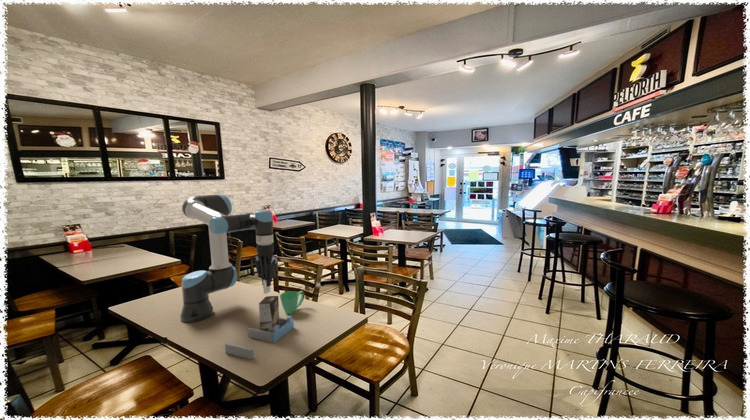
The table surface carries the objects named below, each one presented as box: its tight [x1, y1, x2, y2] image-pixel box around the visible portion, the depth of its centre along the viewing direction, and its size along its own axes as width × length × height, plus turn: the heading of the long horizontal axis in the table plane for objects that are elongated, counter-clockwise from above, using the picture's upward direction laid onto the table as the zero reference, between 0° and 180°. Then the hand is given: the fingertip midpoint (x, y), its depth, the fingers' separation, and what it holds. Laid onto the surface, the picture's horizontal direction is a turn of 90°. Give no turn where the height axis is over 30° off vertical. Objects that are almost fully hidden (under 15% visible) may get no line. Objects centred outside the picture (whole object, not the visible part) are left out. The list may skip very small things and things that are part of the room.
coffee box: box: [258, 295, 281, 333], centre depth 136 cm, size 9×6×16 cm
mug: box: [279, 290, 305, 315], centre depth 158 cm, size 15×10×10 cm
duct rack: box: [224, 315, 295, 360], centre depth 130 cm, size 15×27×7 cm, turn 160°
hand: (266, 292), depth 135 cm, fingers closed
